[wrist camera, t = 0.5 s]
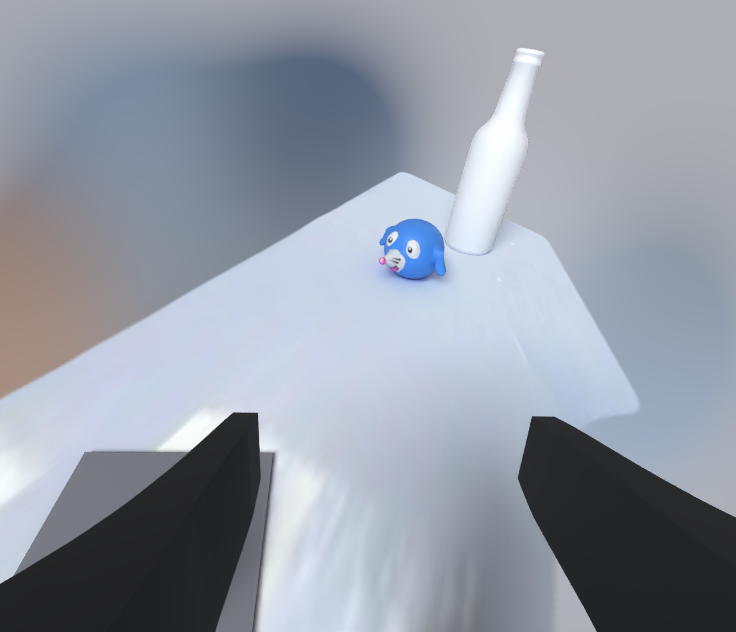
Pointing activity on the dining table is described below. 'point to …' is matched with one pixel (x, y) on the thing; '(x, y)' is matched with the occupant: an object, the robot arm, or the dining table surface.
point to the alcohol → (494, 162)
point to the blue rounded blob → (413, 249)
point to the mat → (122, 483)
